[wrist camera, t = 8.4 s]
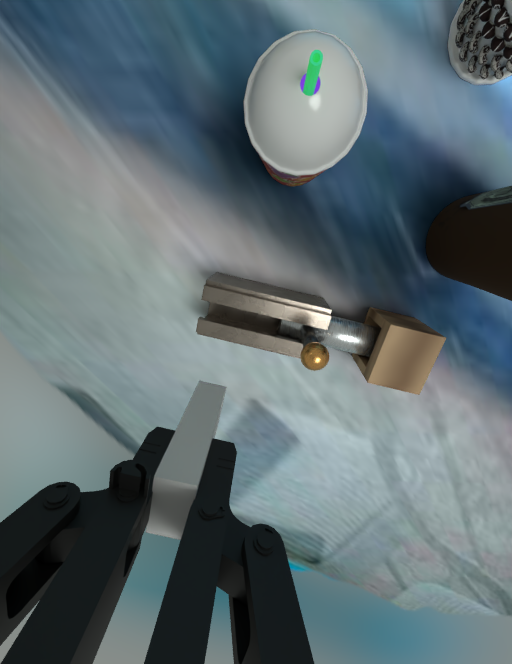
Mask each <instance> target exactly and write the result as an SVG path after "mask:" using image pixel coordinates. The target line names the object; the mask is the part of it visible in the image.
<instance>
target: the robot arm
mask: <svg viewBox="0 0 512 664" xmlns="http://www.w3.org/2000/svg"><path fill="white" fill-rule="evenodd" d="M225 391H226V387H224V386H220V385H216V384H211V383H207V382H203V381H199V383H198V385H197V387H196V389H195V391H194V393H193V395H192V397H191V400H190V402H189V404H188V406H187V408H186V410H185V412H184V414H183V416H182V418H181V421H180V423H179V425H178V427H177V429H176V431H174V430H170V429H166V428H161V427H156V428H155V429H154V430H152V431H151V432H149V433H148V435H147V437H146V438H145V440H144V442H143V443H142V445H141V447H140V448H139V451H138V452H137V453H136V455H135V457H134V458H133V460H127V461H123V462H121V463H119V464H117V465H115V466H114V468H113V469H112V470H111V471H110V482H109V488H107V489H104V490H100V491H94V492H80V489H79V487H78V486H76V485H75V484H74V483H70V482H58V483H55V484H52V485H49V486H47V487H46V488H44V489H42V490H41V491H39V492H38V493H37V494H36V495H34V496H33V497H32V498H31V499H29V500H28V501H27V502H26V503H24V504H23V505H22V506H21V507H20V508H18V509H17V510H16V511H14V512H13V513H12V514H11V515H9V516H8V517H7V518H6V519H5V520H3V521H2V522H1V523H0V645H1V644H2V643H3V642H4V641H5V640H6V639H7V637H8V636H9V635H10V634H11V632H13V630H14V629H15V628H16V627H17V626H18V625H19V623H20V622H21V621H22V620H23V619H24V618H25V616H26V615H27V614H28V613H29V612H30V611H31V610H32V608H33V607H34V606H35V605H36V604H37V603H38V601H39V600H40V601H39V603H38V604H37V606H36V608H35V609H34V611H33V612H32V614H31V616H30V617H29V619H28V620H27V622H26V624H25V625H24V627H23V629H22V630H21V632H20V633H19V635H18V637H17V638H16V640H15V641H14V643H13V645H12V647H11V648H10V650H9V651H8V653H7V655H6V656H5V658H4V659H3V661H2V662H1V664H92V663H93V661H94V658H95V656H96V654H97V651H98V649H99V646H100V644H101V642H102V639H103V637H104V634H105V632H106V629H107V627H108V624H109V622H110V619H111V617H112V615H113V612H114V610H115V607H116V605H117V602H118V600H119V598H120V595H121V593H122V590H123V588H124V585H125V583H126V581H127V578H128V576H129V573H130V571H131V568H132V566H133V564H134V561H135V558H136V556H137V554H138V551H139V549H140V544H141V539H142V535H143V533H144V531H145V528H146V526H147V528H146V532H147V533H151V534H156V535H161V536H165V537H170V538H174V539H179V540H181V541H180V544H179V547H178V551H177V554H176V558H175V561H174V565H173V568H172V571H171V575H170V578H169V581H168V584H167V588H166V591H165V595H164V598H163V601H162V605H161V609H160V611H159V615H158V618H157V622H156V625H155V628H154V632H153V635H152V638H151V642H150V645H149V649H148V652H147V655H146V659H145V662H144V664H204V662H205V656H206V649H207V643H208V637H209V631H210V624H211V617H212V611H213V606H214V599H215V593H216V587H219V588H220V589H222V590H223V591H225V592H226V593H227V594H229V606H230V619H231V632H232V644H233V657H234V664H314V661H313V657H312V653H311V649H310V645H309V641H308V637H307V634H306V629H305V625H304V622H303V618H302V614H301V610H300V606H299V602H298V598H297V594H296V590H295V586H294V582H293V579H292V575H291V571H290V567H289V563H288V559H287V555H286V551H285V547H284V543H283V541H282V538H281V536H280V534H279V533H278V532H277V531H276V530H275V529H274V528H272V527H270V526H269V525H265V524H256V525H253V526H252V527H251V528H250V527H249V526H247V525H245V524H244V523H242V522H241V521H239V520H238V519H237V518H236V517H235V516H234V515H233V513H232V511H231V509H230V506H229V498H230V492H231V485H232V479H233V473H234V467H235V461H236V454H237V451H236V448H235V445H234V443H231V442H226V441H222V440H218V439H214V438H215V434H216V431H217V427H218V422H219V418H220V413H221V409H222V405H223V400H224V396H225Z"/></svg>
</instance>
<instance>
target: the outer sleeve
mask: <svg viewBox="0 0 512 664" xmlns="http://www.w3.org/2000/svg"><path fill="white" fill-rule="evenodd" d="M202 300H204V301H208V302H210V305H209V310H208V314H207V316H206V317H205V318H203V317H199V319H198V323H197V329H196V332H197V334H200V335H204V336H208V337H212V338H217V339H221V340H225V341H229V342H233V343H237V344H242V345H246V346H250V347H254V348H258V349H262V350H267V351H271V352H275V353H279V354H283V355H288V356H292V357H296V358H300V354H301V351H302V349H303V343H302V341H300V340H296V339H292V338H288V337H284V336H280V335H277V333H278V327H279V322H280V319H283V320H287V321H291V322H295V323H300V324H304V325H308V326H312V327H316V328H320V329H324V330H327V329H328V326H329V323H330V320H331V317H332V316H331V315H330V314H331V311H332V310H331V308H330V307H329V305H328V304H327V302H326V301H325V299H324V298H321V297H317V296H313V295H309V294H304V293H300V292H296V291H292V290H288V289H284V288H280V287H276V286H272V285H267V284H263V283H259V282H255V281H251V280H247V279H243V278H239V277H235V276H230V275H226V274H222V273H218V272H216V273H215V274H214V275H212V276H211V277H210V278H208V279H207V280H206V284H205V285H204V289H203V295H202ZM300 359H301V358H300Z"/></svg>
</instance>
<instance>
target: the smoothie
mask: <svg viewBox="0 0 512 664" xmlns="http://www.w3.org/2000/svg"><path fill="white" fill-rule="evenodd" d="M367 95H368V89H367V84H366V80H365V76H364V71H363V67H362V66H361V64H360V62H359V61H358V59H357V57H356V56H355V54H354V52H353V51H352V49H351V48H350V47H349V46H348V45H346V44H345V43H344V42H343V41H341V40H340V39H339V38H338V37H337V36H335V35H333V34H330V33H326V32H323V31H319V30H316V29H312V30H303V31H294V32H292V33H290V34H288V35H286V36H284V37H283V38H281V39H279V40H277V41H275V42H274V43H273V44H272V45H271V46H270V47H269V48H268V49H267V50H266V51H265V52H264V53H263V54H262V55H261V56H260V57H259V59H258V61H257V63H256V65H255V67H254V69H253V71H252V73H251V75H250V77H249V79H248V83H247V88H246V92H245V97H244V117H245V126H246V129H247V132H248V135H249V137H250V140H251V143H252V145H253V147H254V148H255V149H256V151H257V152H258V154H259V156H260V158H261V160H262V162H263V163H264V165H265V167H266V169H267V171H268V172H269V173H270V175H271V176H272V177H273V179H275V180H276V181H278V182H279V183H281V184H284V185H288V186H299V185H303V184H305V183H307V182H309V181H311V180H312V179H314V178H315V177H316V176H318V175H319V174H321V173H322V172H324V171H325V170H327V169H328V168H331V167H332V166H334V165H335V164H336V163H337V162H338V161H339V160H341V159H342V158H343V157H344V156H345V155H346V154H348V152H349V150H350V149H351V147H352V146H353V144H354V143H355V141H356V140H357V138H358V137H359V135H360V132H361V129H362V126H363V123H364V120H365V117H366V114H367Z"/></svg>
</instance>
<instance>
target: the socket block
mask: <svg viewBox="0 0 512 664" xmlns="http://www.w3.org/2000/svg"><path fill="white" fill-rule="evenodd" d="M364 324H368V325H372V326H376V327H380V328H382V329H381V331H380V334H379V336H378V339H377V341H376V344H375V346H374V349H373V351H372V354H371V356H370V357H367V356H363V355H359V354H354V353H353V354H352V357H353V359H354V361H355V362H356V364H357V366H358V367H359V369H360V371H361V372H362V374H363V376H364V377H365V379H366V381H367V382H368V383H372V384H376V385H380V386H384V387H389V388H393V389H397V390H401V391H405V392H409V393H414V394H418V395H419V394H420V392H421V390H422V388H423V386H424V384H425V382H426V380H427V378H428V375H429V373H430V371H431V369H432V367H433V365H434V363H435V361H436V359H437V357H438V354H439V352H440V350H441V348H442V346H443V344H444V342H445V340H446V338H445V337H444V336H442V335H441V334H439V333H438V332H436V331H435V330H433V329H431V328H430V327H428V326H427V325H425V324H424V323H422V322H421V321H419V320H417V319H416V318H413V317H409V316H405V315H401V314H397V313H393V312H388V311H384V310H380V309H376V308H372V307H370V308H369V310H368V313H367V316H366V318H365V321H364Z"/></svg>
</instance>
